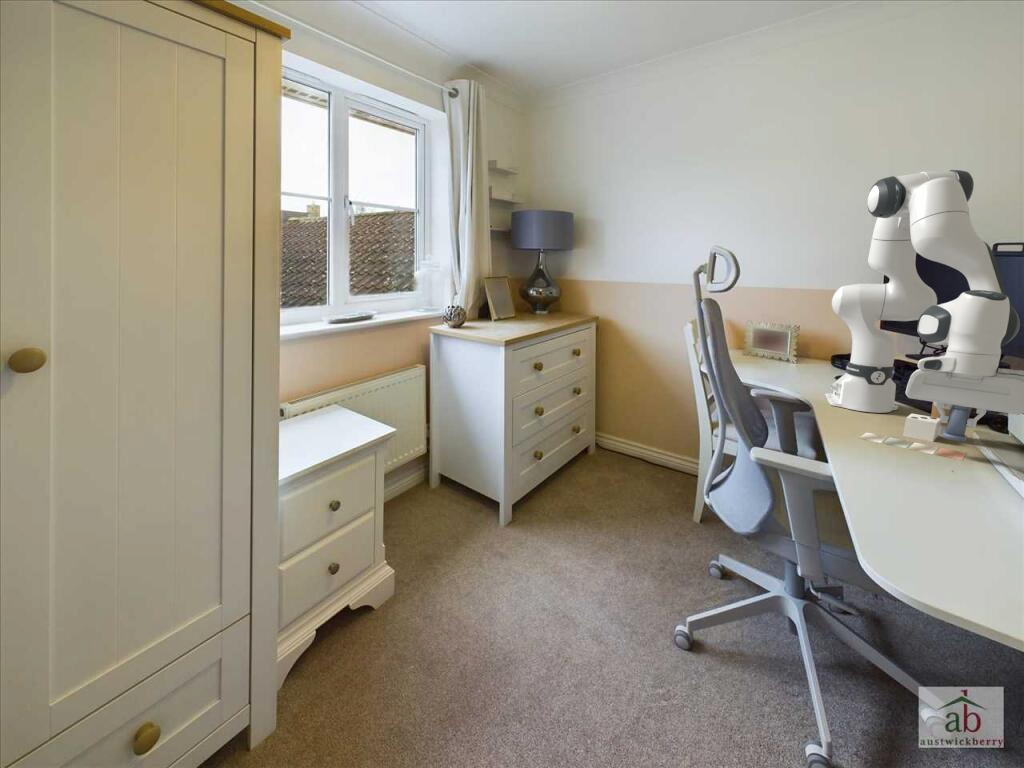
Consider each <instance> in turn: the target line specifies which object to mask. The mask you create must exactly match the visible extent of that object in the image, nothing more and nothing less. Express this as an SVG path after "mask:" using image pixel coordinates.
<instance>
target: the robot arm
mask: <svg viewBox="0 0 1024 768" xmlns="http://www.w3.org/2000/svg"><path fill="white" fill-rule="evenodd" d="M974 186H975V185H974V179H973V177H972V175H971V174H970V172H968V171H966V170H960V169H949V170H931V171H929V170H928V171H927V170H926V171H920V172H917V173H908V174H903V175H899V176H893V175H892V176H889V177H888V176H887V177H884V178H881V179H878V180H877V181H875V183H874V184H873V185H872V187H871V188H870V190H869V194H868V196H867V209H868V210H867V211H868V212H869V214H871V216H872V217H875V218H877V219H876V221H875V223H874V227H873V230H872V231H873V232H872V235H871V239H870V240H871V242H870V246H869V253H868V258H867V264H868V266H869V267H870V268H871V269H872V270H873V271H875V272H877V273H880V274H882V275H884V276H886V277H887V278H888V279H889V281H888V282H887V283H853V284H848V285H847V284H846V285H842V286H840V287H839V288H838V289H837V290H835V292H834V294H833V296H832V298H831V308H832V311H833V313H834V314H835V315H837V316H838V317H839V318H840V319H841V320H843V322H844V323H845V324H846V325H847V327H848V330H849V331H850V334H851V342H852V343H851V353H850V361H849V362H848V363H847V365H846V368H845V373H844V374H843V375H842V376H840V377H839V378H838V379H837V380H836V381H835V382H832V383H831V385H830V390H832V391H833V392H827V393H824V397H825V396H826V397H825V399H826V398H827V399H826V400H827V402H828V403H829V405H830V406H834V407H839V408H843V409H844V408H845V409H847V410H848V409H849V410H853V411H859V412H864V413H865V412H866V413H877V414H878V413H879V414H881V413H883V414H885V413H890V412H893V411H898V410H899V406H898V405H895V400H896V389H897V384H896V382H894V381H893V379H892V378H893V377H894V374H895V366H894V363H895V356H896V352H897V351H896V350H897V346H898V343H897V340H896V339H895V337H894V336H892V335H890V334H889V333H887V332H885V331H883V330H882V329H879V328H878V327H876V321H894V322H895V321H896V322H910V321H917V324H916V325H917V327H916V328H917V329H916V330H917V334H918V335H919V337H920V338H921V340H922V341H924V342H926V343H928V344H931V345H938V346H947V348H946V352H945V354H944V355H934V356H928V357H924V358H921V359H919V360H918V362H917V368H918V369H916V370H915V371H913V373H911V375H910V376H909V379H908V382H907V385H906V388H905V389H906V390H905V395H906V396H907V398H908V399H911V400H912V399H913V400H920V401H925V402H931V403H933V402H937V405H936V408H937V410H938V412H939V414H940V415H941V417H940V422H942V423H948V420H949V416H950V415H947V414H946V413H945V411H944V409H943V408H944V407H945V406H946V404H951V405H957V406H964V407H971V408H972V409H976V410H975V411H976V412H975V413H976V414H977V415H976V416H975V417H974V418H970V417H969V418H968V420H967V424H966V428H972V429H975V428H976V426H977V423H978V421H979V420H980V419H981V418H982V417H984V415H986V413H987V411H990V412H991V411H992V412H999V413H1002V414H1003V413H1004V414H1011V415H1017V416H1019V415H1022V414H1024V370H1021V369H1020V370H1015V369H1010V368H1002V367H1001V368H1000V367H999V364H1000V361H1001V360H1000V359H1001V355H1002V349H1001V347H1003V346H1005V345H1007V344H1008V343H1009V342H1011V341H1012V340H1013V339H1014V338H1015V337H1016V336H1017V334H1018V332H1019V330H1020V327H1021V320H1020V318H1019V315H1018V312H1017V311H1016V310H1015V308H1014V306H1013V305H1012V303H1011V301H1010V299H1009V298H1010V297H1009V296H1008V292H1007V290H1006V287H1005V284H1004V281H1003V277H1002V275H1001V272H1000V268H999V265H998V262H997V260H996V257H995V255H994V251H993V250H992V248H991V247H990V245H989V244H988V243H987V242H985V241H984V240H983V239H982V238H981V237H980V236H979V234H978V233H977V232H976V231H975V230H976V229H974V226H973V224H972V221H971V215H970V214H971V213H970V208H969V204H968V202H969V201H970V199H971V197H972V195H973V193H974ZM917 254H918V255H920V256H921V257H922V258H925V259H927V260H930V261H933V262H936V263H939V264H942V265H946V266H948V267H950V268H952V269H955V270H957V271H959V272H960V273H962V275H964V277H965V279H966V280H967V283H968V286H969V289H970V290H966V291H964V292H962V293H960V295H958V297H957V298H955V299H953V300H949V301H948V302H944V303H940V304H938V297H937V293H936V292H935V291H934V289H933V288H932V287H930V286H928V285H927V283H925V282H924V281H923V280H922V279H921V277H920V275H919V274H918V270H917V267H916V260H917V257H916V256H917ZM897 409H898V410H897Z"/></svg>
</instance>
